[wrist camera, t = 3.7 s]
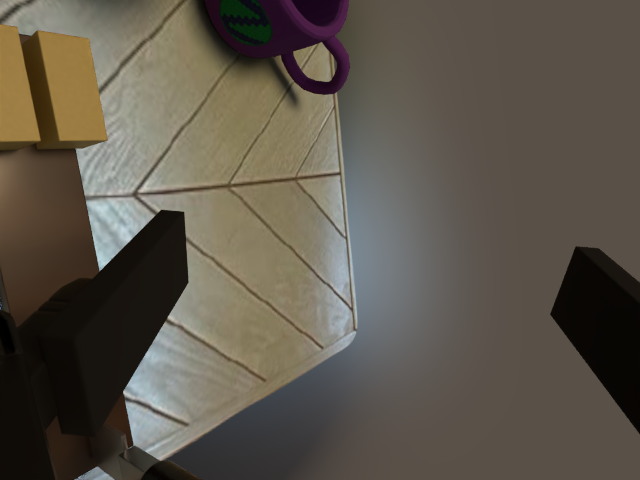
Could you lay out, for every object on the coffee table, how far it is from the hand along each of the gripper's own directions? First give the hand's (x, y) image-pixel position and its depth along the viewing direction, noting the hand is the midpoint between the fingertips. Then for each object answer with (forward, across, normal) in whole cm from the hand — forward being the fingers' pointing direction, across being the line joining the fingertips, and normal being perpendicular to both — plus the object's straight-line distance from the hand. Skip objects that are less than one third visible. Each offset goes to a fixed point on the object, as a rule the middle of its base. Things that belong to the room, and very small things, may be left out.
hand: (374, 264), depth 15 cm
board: (+13, -21, -10) cm, 27 cm away
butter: (+16, -22, +1) cm, 27 cm away
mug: (+38, -11, +6) cm, 40 cm away
